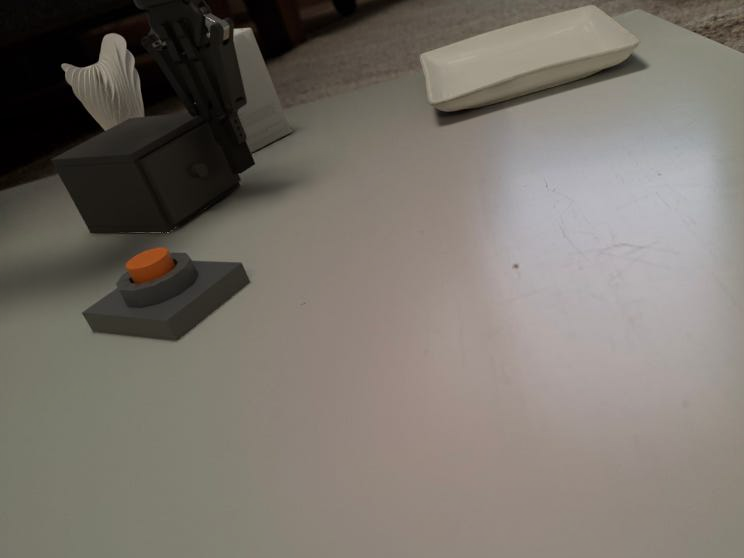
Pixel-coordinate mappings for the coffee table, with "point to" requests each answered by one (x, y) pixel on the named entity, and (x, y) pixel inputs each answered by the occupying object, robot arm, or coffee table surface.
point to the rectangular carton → (258, 95)
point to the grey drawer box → (123, 175)
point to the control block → (167, 299)
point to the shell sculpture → (108, 84)
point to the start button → (150, 265)
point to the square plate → (524, 58)
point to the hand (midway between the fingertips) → (244, 168)
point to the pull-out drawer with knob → (188, 172)
